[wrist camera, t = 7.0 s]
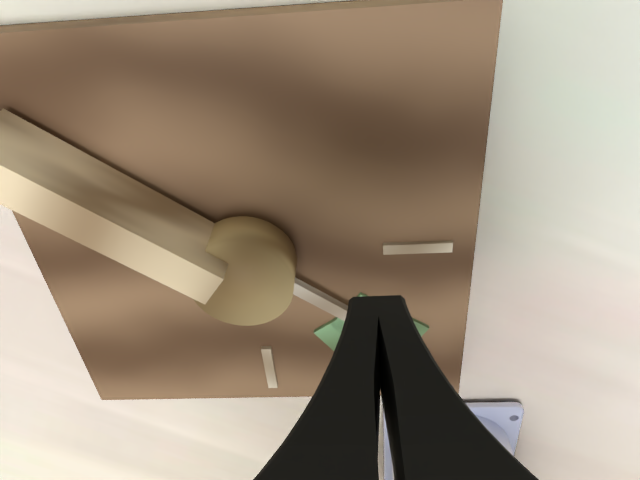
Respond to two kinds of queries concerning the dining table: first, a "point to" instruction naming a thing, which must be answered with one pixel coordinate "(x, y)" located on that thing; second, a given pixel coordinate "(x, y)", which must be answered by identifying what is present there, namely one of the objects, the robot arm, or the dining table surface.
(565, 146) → the dining table surface
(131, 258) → the dial lever
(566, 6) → the dining table surface
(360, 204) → the dial board
